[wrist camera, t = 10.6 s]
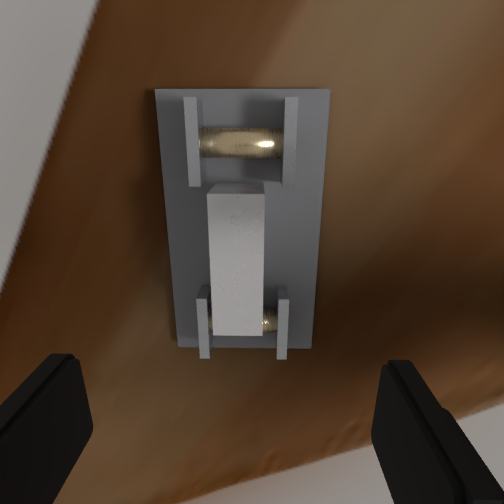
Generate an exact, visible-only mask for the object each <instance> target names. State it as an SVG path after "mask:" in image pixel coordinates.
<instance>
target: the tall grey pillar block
mask: <svg viewBox="0 0 504 504" xmlns="http://www.w3.org/2000/svg"><path fill="white" fill-rule="evenodd" d="M207 209H208V232H209V255H210V277H211V300H212V323H213V335H223V336H263V276H264V215H265V192H264V184H263V183H216V184H215V185H214V186H213V187H212V188H211V190H210V191H209V192H208V193H207Z"/></svg>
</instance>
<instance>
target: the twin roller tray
mask: <svg viewBox="0 0 504 504" xmlns="http://www.w3.org/2000/svg"><path fill="white" fill-rule="evenodd" d="M183 99H184V114H185V130H186V146H187V161H188V177H189V187H201V186H202V185H203V184H204V183H206V162H205V158H281V164H280V183H281V185H282V187H294V182H295V160H296V138H297V115H298V97H285V98H284V99H283V101H282V128H204V119H203V101H202V100H200V99H199V98H197V97H183ZM196 303H197V318H198V334H199V350H200V359H210V355H211V350H212V346H213V341H214V338H213V323H212V300H211V285H201V287H200V290H199V293H198V295H197V298H196ZM288 316H289V296H288V291H287V286H286V285H277V297H276V308H263V333H275V345H276V356H277V359H287V338H288Z"/></svg>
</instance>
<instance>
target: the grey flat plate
mask: <svg viewBox="0 0 504 504" xmlns="http://www.w3.org/2000/svg"><path fill="white" fill-rule="evenodd" d="M330 91H331V89H155V97H156V108H157V119H158V130H159V141H160V152H161V163H162V175H163V186H164V197H165V208H166V219H167V230H168V241H169V252H170V263H171V275H172V286H173V297H174V308H175V319H176V330H177V341H178V347H199V334H198V318H197V303H196V298H197V295H198V293H199V290H200V287H201V285H211V277H210V255H209V232H208V209H207V193H208V192H209V191H210V190H211V188H212V187H213V186H214V185H215V184H216V183H263V184H264V192H265V215H264V276H263V308H276V297H277V285H286V286H287V291H288V296H289V316H288V338H287V348H301V349H311V344H312V331H313V318H314V304H315V291H316V278H317V264H318V251H319V237H320V224H321V211H322V197H323V184H324V171H325V157H326V144H327V131H328V117H329V104H330ZM183 97H197V98H199V99H200V100H202V101H203V119H204V128H282V101H283V99H284V98H285V97H298V115H297V138H296V160H295V182H294V187H282V185H281V183H280V164H281V158H205V162H206V183H204V184H203V185H202V186H201V187H189V177H188V161H187V146H186V130H185V114H184V99H183ZM213 338H214V341H213V346H212V348H276V345H275V333H263V336H223V335H213Z"/></svg>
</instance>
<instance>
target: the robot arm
mask: <svg viewBox="0 0 504 504" xmlns="http://www.w3.org/2000/svg"><path fill="white" fill-rule="evenodd" d="M92 431H93V422H92V417H91V412H90V408H89V403H88V398H87V394H86V389H85V384H84V380H83V375H82V370H81V366H80V362H79V360H78V359H75V357H74V355H73V354H56V353H53V354H51V355H49V356H48V357H47V358H46V359H45V360H44V361H43V362H42V363H41V364H40V365H39V366H38V367H37V368H36V369H35V370H34V371H33V372H32V373H31V375H30V376H29V377H28V378H27V379H26V380H25V381H24V382H23V383H22V384H21V385H20V386H19V387H18V388H17V389H16V390H15V391H14V392H13V393H12V394H11V395H10V396H9V397H8V398H7V399H6V400H5V401H4V402H3V403H2V404H1V405H0V504H53V502H54V500H55V498H56V497H57V495H58V493H59V491H60V490H61V488H62V486H63V484H64V483H65V481H66V479H67V477H68V476H69V474H70V472H71V470H72V469H73V467H74V465H75V463H76V462H77V460H78V458H79V456H80V455H81V453H82V451H83V449H84V448H85V446H86V444H87V442H88V441H89V439H90V437H91V434H92ZM371 437H372V443H373V446H374V449H375V452H376V454H377V457H378V460H379V462H380V466H381V468H382V471H383V473H384V477H385V479H386V482H387V485H388V488H389V490H390V493H391V496H392V499H393V501H394V504H504V491H503V489H502V488H501V487H500V485H499V484H498V482H497V481H496V479H495V478H494V476H493V475H492V473H491V472H490V470H489V469H488V467H487V466H486V465H485V463H484V462H483V460H482V459H481V457H480V456H479V454H478V453H477V451H476V450H475V448H474V447H473V445H472V444H471V443H470V441H469V440H468V438H467V437H466V435H465V434H464V432H463V431H462V429H461V428H460V426H459V425H458V423H457V422H456V421H455V419H454V418H453V416H452V415H451V414H450V412H449V411H448V410H446V409H445V408H442V407H441V405H440V404H439V402H438V401H437V399H436V398H435V396H434V395H433V393H432V392H431V390H430V389H429V387H428V386H427V384H426V383H425V381H424V380H423V378H422V377H421V375H420V374H419V372H418V371H417V369H416V368H415V366H414V365H413V363H412V362H411V361H409V360H389V361H388V364H387V365H383V366H382V369H381V375H380V381H379V387H378V393H377V399H376V405H375V412H374V418H373V424H372V430H371Z"/></svg>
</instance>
